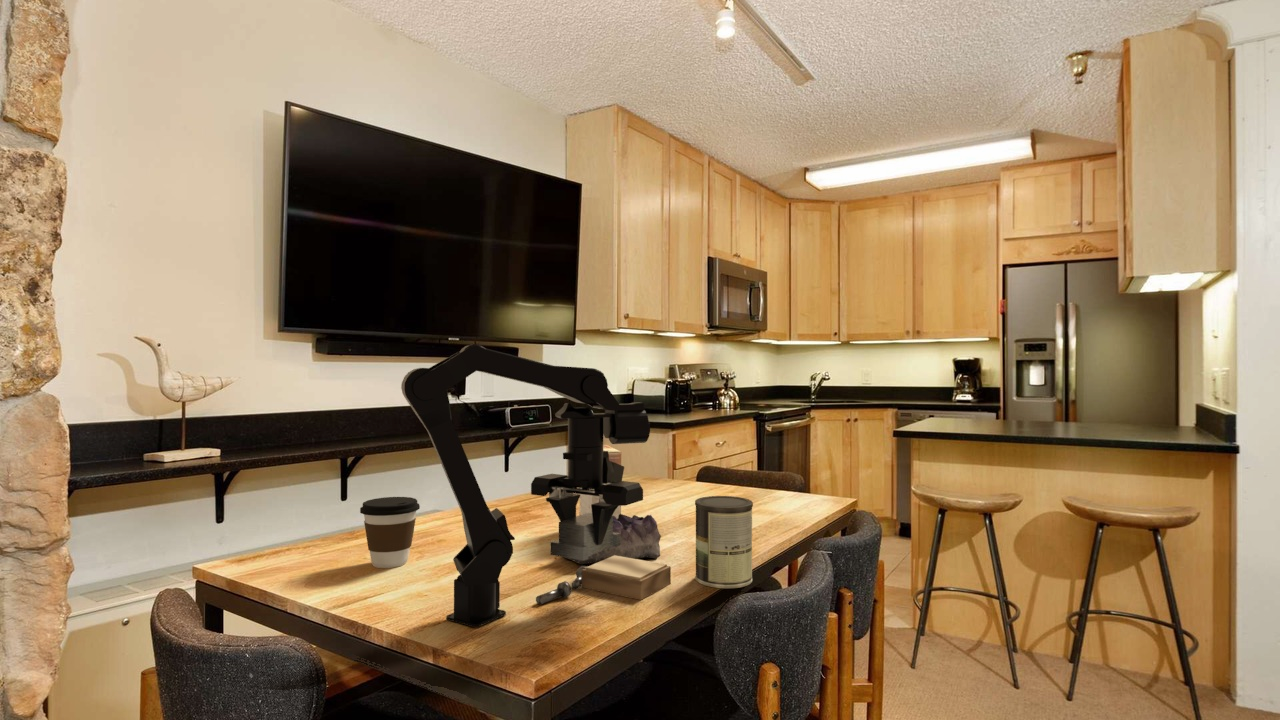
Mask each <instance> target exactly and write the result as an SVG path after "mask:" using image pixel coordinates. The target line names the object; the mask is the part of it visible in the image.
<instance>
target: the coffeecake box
mask: <svg viewBox="0 0 1280 720" xmlns="http://www.w3.org/2000/svg"><path fill="white" fill-rule="evenodd" d="M603 451H608V454H609V461H612V462H615V463H617V464H619V465H622V451H621V450H618V449H616V448H614V447H612V446H610V445H608V444H603ZM607 484H611V483H607ZM607 484H604V483H603V485H607ZM581 489H582V488H581ZM589 490H590V489H589ZM591 490H594V489H591ZM598 502H599V496H593V495H585V494H580V498H579V515H583V514H586V513H592V508H591V504H595V503H598ZM619 514H622V506H618V507H617V509H616V510H615V511H614V513H613V515H612V516H615V517H616V519H618V517H619ZM579 515H578V516H579Z"/></svg>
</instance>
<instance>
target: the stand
mask: <svg viewBox="0 0 1280 720" xmlns="http://www.w3.org/2000/svg"><path fill="white" fill-rule="evenodd" d="M671 568H672V566H671V565H670V566H669V565H667V563H659V562H655V561H648V560H644V559H633V558H627V557H621V556H616V555H614V556H612V557H609V558H607V559H605V560H602V561H600V562H594V563H592V564H591V565H590V564H589V566H588V565H587V567H586V568H585V569H583V570H582V584H581V588H583V589H588V590H591V591H597V592H602V593H606V594H612V595H616V596H621V597H626V598H630V599H635V600H640V601H641V600H643V599H645V598H648V597H649V596H650V595H653V594H654V593H656V592H658V591H660V590H662V589H663V588H665V587H667V586H669V585H671V582H672V581H671V578H672V577H671V576H672V575H671Z"/></svg>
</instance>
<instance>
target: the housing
mask: <svg viewBox="0 0 1280 720" xmlns="http://www.w3.org/2000/svg"><path fill="white" fill-rule="evenodd" d="M620 545H621V533H615V532H613V516H612V517H611V520H610V522H609V525H608V528H607V531H606V534H605V537H604V540H603V542H602V544H601V545H596V540H595V535H594V526H593V517H592V513H586V514H583V515H576V517H573V518H570V519H567V520H564V521H560V520H559V522H558V540H552V541H550V556H555V557H560V558H561V557H562V558H565V557H566V558H565V559H567V558H571V559H577V560H582V561H584V560H586V559H588V556H591V555H593V554H596V553H598V552H601V551H603V550H606V549H608V548H610V547H618V546H620Z"/></svg>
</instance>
